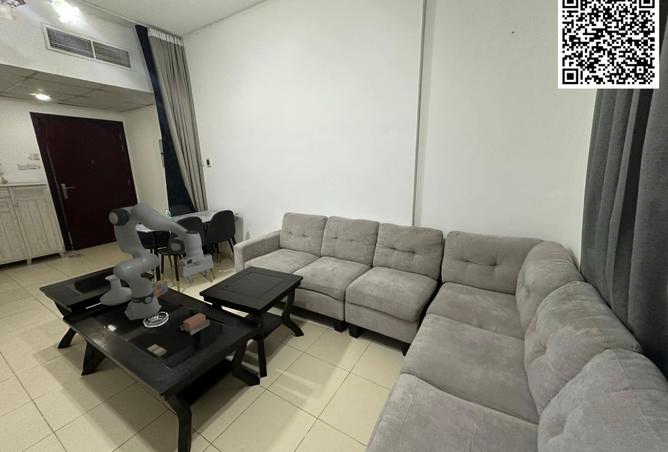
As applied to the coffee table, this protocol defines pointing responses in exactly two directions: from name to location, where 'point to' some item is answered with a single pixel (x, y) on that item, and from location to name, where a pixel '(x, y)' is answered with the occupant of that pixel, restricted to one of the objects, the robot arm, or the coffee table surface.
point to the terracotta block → (194, 321)
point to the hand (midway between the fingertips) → (199, 279)
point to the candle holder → (116, 292)
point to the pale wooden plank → (160, 351)
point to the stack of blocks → (159, 287)
